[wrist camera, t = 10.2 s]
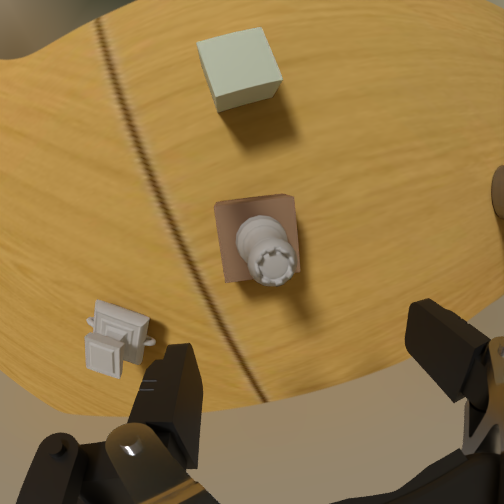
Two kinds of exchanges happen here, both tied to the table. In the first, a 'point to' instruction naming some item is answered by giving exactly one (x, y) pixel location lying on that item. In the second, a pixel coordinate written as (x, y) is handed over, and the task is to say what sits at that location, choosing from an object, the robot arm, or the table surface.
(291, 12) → the table surface
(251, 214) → the walnut block
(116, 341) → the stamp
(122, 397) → the table surface
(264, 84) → the sage block
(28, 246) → the table surface
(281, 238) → the rook chess piece
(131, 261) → the table surface
